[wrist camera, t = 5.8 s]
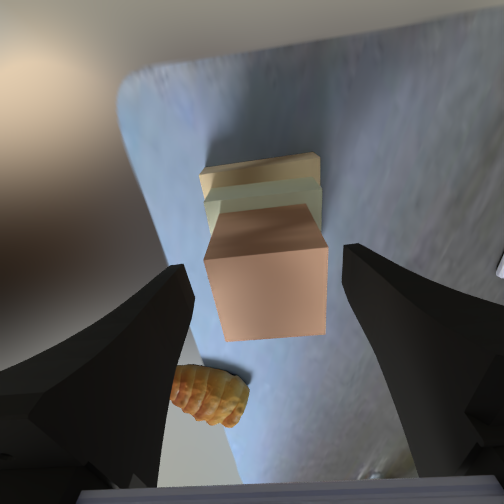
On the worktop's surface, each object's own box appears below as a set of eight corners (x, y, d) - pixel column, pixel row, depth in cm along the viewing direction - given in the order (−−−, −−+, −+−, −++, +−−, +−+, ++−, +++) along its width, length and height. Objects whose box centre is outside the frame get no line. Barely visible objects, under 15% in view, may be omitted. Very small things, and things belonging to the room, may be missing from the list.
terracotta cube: (305, 203, 12) (328, 247, 9) (307, 274, 15) (325, 334, 11) (219, 213, 13) (203, 260, 9) (233, 281, 15) (225, 341, 11)
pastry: (158, 383, 29) (145, 418, 26) (178, 349, 26) (166, 385, 22) (230, 404, 31) (227, 439, 28) (255, 376, 28) (255, 412, 25)
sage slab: (312, 176, 14) (322, 188, 12) (311, 262, 17) (319, 284, 15) (211, 188, 15) (203, 202, 12) (227, 269, 18) (224, 292, 16)
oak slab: (311, 150, 16) (320, 157, 14) (312, 244, 19) (319, 261, 17) (206, 166, 16) (198, 175, 14) (226, 254, 20) (222, 272, 18)
